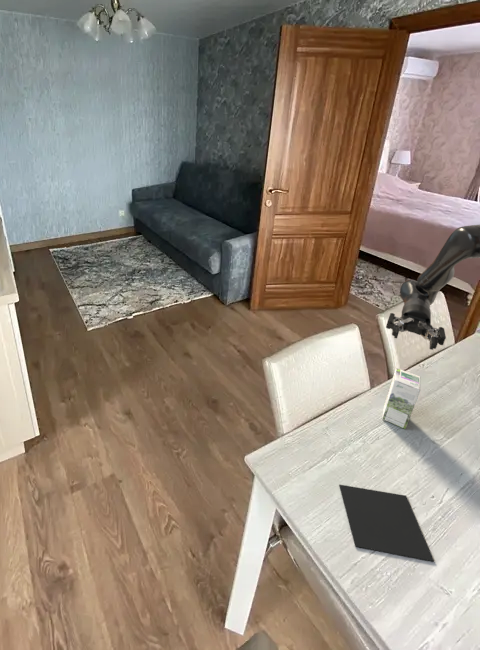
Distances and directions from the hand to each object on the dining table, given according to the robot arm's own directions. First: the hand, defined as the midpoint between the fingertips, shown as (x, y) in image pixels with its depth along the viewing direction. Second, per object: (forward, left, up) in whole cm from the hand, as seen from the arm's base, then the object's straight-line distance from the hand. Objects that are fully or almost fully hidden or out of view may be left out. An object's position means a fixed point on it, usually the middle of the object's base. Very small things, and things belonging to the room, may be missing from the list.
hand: (413, 341), depth 97 cm
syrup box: (+5, +10, -19) cm, 22 cm away
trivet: (+18, +38, -19) cm, 46 cm away
